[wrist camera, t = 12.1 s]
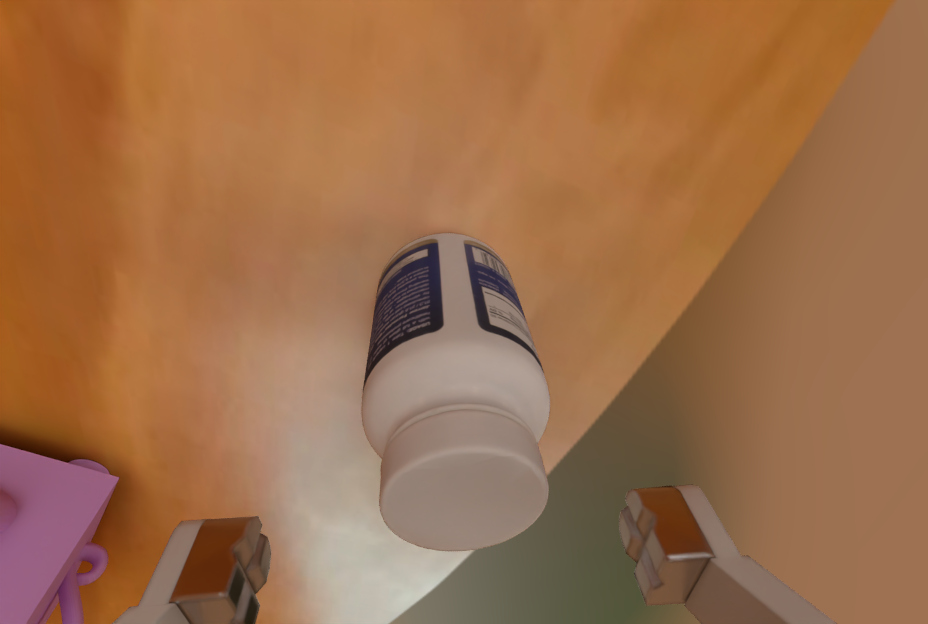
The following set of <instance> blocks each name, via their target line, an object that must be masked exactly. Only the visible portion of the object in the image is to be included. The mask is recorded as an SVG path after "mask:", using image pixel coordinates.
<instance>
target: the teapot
mask: <svg viewBox="0 0 928 624" xmlns="http://www.w3.org/2000/svg"><path fill="white" fill-rule="evenodd" d="M118 480H119V477H116V476H113V475H110V473H109V471H108V470H107V469H106V468H105V467H104V466H102V465H101V464H99V463H97V462H94V461H91V460H85V459H77V460H72V461H70V462H68V463H66V462H63V461H59V460H55V459H52V458H48V457H45V456H41V455H38V454H34V453H30V452H27V451H23V450H20V449H16V448H13V447H9V446H5V445H2V444H0V624H45V623H46V622H47V620H48V618H49V617H50V615H51V614H52V612H53V610H54V609H55V607H56V605H57V604H58V602H60V607H61V613H62V621H63V624H84V619H83V609H82V602H81V597H80V592H79V587H78V585H79V586H80V585H87V584H90V583H92V582H93V581H95V580H96V579H98V578H99V577H100V576H101V575H102V573H103V572H104V571H105V569H106V566H107V564H108V554H107V551H106V550H105V548H103V547H102V546H100V545H98V544H95V543H90V542H91V540H92V538H93V536H94V533H95V531H96V529H97V527H98V525H99V522H100V520H101V518H102V516H103V513H104V511H105V509H106V507H107V504H108V502H109V500H110V498H111V495H112V493H113V491H114V489H115V486H116V484H117V482H118ZM82 561H88V562H90V563H91V564H92V565H93V568H92V569H91V571H89V572H87V573H77V571H78V569H79V566H80V564H81V562H82Z"/></svg>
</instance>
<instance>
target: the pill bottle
mask: <svg viewBox="0 0 928 624" xmlns="http://www.w3.org/2000/svg"><path fill="white" fill-rule="evenodd" d="M549 413H550V396H549V390H548V386H547V383H546V379H545V376H544V372H543V369H542V366H541V363H540V360H539V358H538V354H537V352H536V348H535V346H534V343H533V340H532V337H531V334H530V331H529V328H528V325H527V322H526V319H525V316H524V313H523V310H522V307H521V304H520V301H519V299H518V296H517V293H516V290H515V287H514V284H513V281H512V278H511V276H510V273H509V271H508V269H507V267H506V265H505V263H504V262H503V260H502V259H501V258H500V256H499V255H498V254H497V253H496V252H495V251H494V250H493V249H492V248H490V247H489V246H488V245H486V244H485V243H483V242H481V241H479V240H477V239H475V238H472V237H469V236H466V235H461V234H455V233H439V234H433V235H429V236H425V237H422V238H419V239H417V240H415V241H412V242H410V243H409V244H407V245H405V246H404V247H402V248H401V249H400V250H399V251H398V252H396V253H395V254H394V256H393V257H392V258H391V259H390V260H389V262H388V263H387V265H386V266H385V268H384V270H383V272H382V275H381V278H380V281H379V285H378V290H377V296H376V304H375V310H374V317H373V325H372V332H371V339H370V346H369V352H368V359H367V366H366V373H365V380H364V387H363V396H362V422H363V427H364V431H365V434H366V436H367V439H368V441H369V443H370V444H371V446H372V447H373V449H374V450H375V452H376V453H377V454H378V455H379V456H380V457H381V458H382V463H381V483H380V499H379V506H380V512H381V515H382V517H383V520H384V522H385V523H386V525H387V526H388V528H389V529H390V530H391V531H392V532H393V533H394V534H396V535H397V536H399V537H400V538H402V539H403V540H405V541H407V542H409V543H412V544H415V545H417V546H420V547H423V548H427V549H433V550H441V551H467V550H475V549H480V548H485V547H489V546H492V545H496V544H499V543H501V542H504V541H506V540H508V539H510V538H512V537H514V536H516V535H518V534H520V533H521V532H523V531H524V530H526V529H527V528H528V527H529V526H531V525H532V523H534V522H535V521H536V519H538V517H539V516H540V515H541V513H542V512H543V510H544V508H545V506H546V503H547V500H548V481H547V477H546V473H545V469H544V465H543V461H542V458H541V454H540V450H539V447H538V445H537V444H538V442H539V440H540V439H541V437H542V435H543V433H544V431H545V428H546V426H547V422H548V419H549Z"/></svg>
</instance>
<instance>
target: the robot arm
mask: <svg viewBox="0 0 928 624" xmlns="http://www.w3.org/2000/svg"><path fill="white" fill-rule="evenodd" d="M625 499H626V502H627V504H628V506H627V507H625V508H624V509H623V510H621V513H620V517H619V529H620V530H619V531H620V536H621V540H622V543H623V546H624V549H625V552H626V554H627V555H629V556H630V557H631V558H632V559H633V560H634V561H635V562H636V563H637V565H636V568H635V572H634V575H635V578H636V580H637V583H638V585H639V588H640V591H641V593H642V596H643V598H644V601H645V604H646V605H665V604H680V603H685V607H686V608H687V609H688V610H689V611H690V612H691V613H692V614H693V615H694V616H695V617H696V618H697V620H698V621H699V622H700V623H701V624H837V623H836V622H834V621H833V620H832V619H830V618H829V617H828V616H827V615H825V614H824V613H822V612H821V611H820V610H819V609H817V608H816V607H815V606H813V605H812V604H811V603H810V602H808V601H807V600H806V599H804V598H803V597H802V596H800V595H799V594H798V593H796V592H795V591H794V590H793V589H791V588H790V587H789V586H787V585H786V584H784V583H783V582H782V581H781V580H779V579H778V578H777V577H776V576H774V575H773V574H772V573H770V572H769V571H768V570H766V569H765V568H764V567H762V566H761V565H760V564H758V563H757V562H756V561H754V560H753V559H752V558H751V557H749V556H741V554H740V553H739V551H738V549H737V548H736V546H735V544H734V543H733V541H732V539H731V538H730V536H729V534H728V533H727V531H726V529H725V528H724V526H723V524H722V523H721V521H720V519H719V518H718V516H717V514H716V513H715V511H714V509H713V508H712V506H711V504H710V503H709V501H708V499H707V498H706V496H705V494H704V493H703V491H702V490H701V489H700V488H699V487H698V486H697V485H680V486H662V487H651V488H640V489H631V490H629V491H628V492H627V495H626V498H625ZM261 528H262V523H261V521H260V519H259V517H258V516H253V517H237V518H222V519H201V520H189V521H181V522H180V523H179V525H178V526H177V527H176V528H175V529H174V531H173V533H172V535H171V537H170V539H169V541H168V543H167V546H166V548H165V550H164V552H163V554H162V556H161V558H160V560H159V562H158V565H157V567H156V569H155V571H154V573H153V575H152V577H151V579H150V581H149V584H148V586H147V588H146V590H145V592H144V594H143V596H142V598H141V600H140V603H139V605H138V606H133V607H129V608H128V609H127V610H126V611H125V612H124V613H123V614H122V615H121V616H120V617H119V618H118V619H117V620H115V621H114V622H113V623H112V624H255V622H256V618H257V614H258V611H259V607H260V604H259V602H258V600H257V597H256V595H255V594H256V593H257V592H258V591H259V590H260V589H261V588H262V587H263V585H264V584H265V583H266V581H267V577H268V573H269V569H270V559H271V549H270V543H269V540H268V537H267V536H265V535H263V534H261V533H260V532H261Z"/></svg>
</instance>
